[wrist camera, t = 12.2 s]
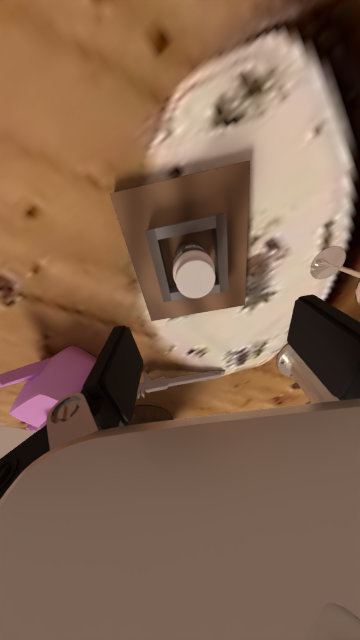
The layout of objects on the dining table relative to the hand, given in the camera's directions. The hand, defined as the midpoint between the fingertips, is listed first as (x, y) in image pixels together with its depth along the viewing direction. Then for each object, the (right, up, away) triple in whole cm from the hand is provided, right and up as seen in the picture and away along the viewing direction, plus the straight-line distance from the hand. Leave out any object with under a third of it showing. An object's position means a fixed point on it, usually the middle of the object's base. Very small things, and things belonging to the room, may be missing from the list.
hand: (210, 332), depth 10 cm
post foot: (0, +10, +15) cm, 18 cm away
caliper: (-2, -11, +30) cm, 32 cm away
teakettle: (-24, -11, +28) cm, 39 cm away
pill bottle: (0, +9, +14) cm, 17 cm away
